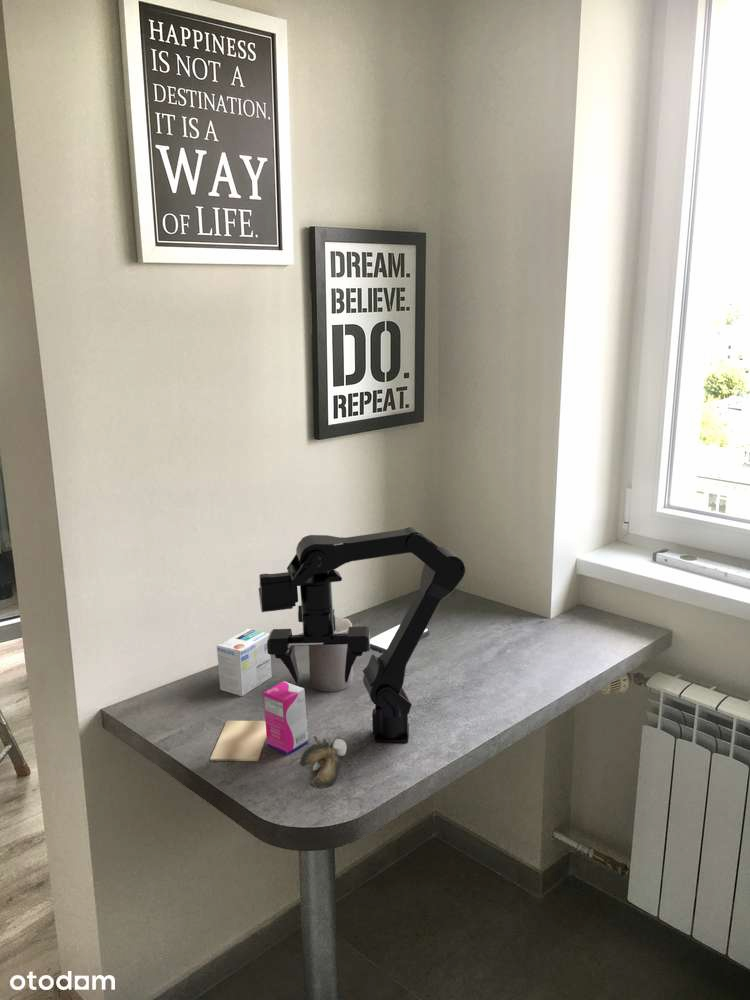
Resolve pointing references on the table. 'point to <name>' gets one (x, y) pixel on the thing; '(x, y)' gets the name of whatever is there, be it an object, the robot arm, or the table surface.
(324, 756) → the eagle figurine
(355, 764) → the table surface
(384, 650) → the phone case
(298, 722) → the supplement box
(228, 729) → the pale gold metal plate
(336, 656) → the pillar candle
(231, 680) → the light bulb box
